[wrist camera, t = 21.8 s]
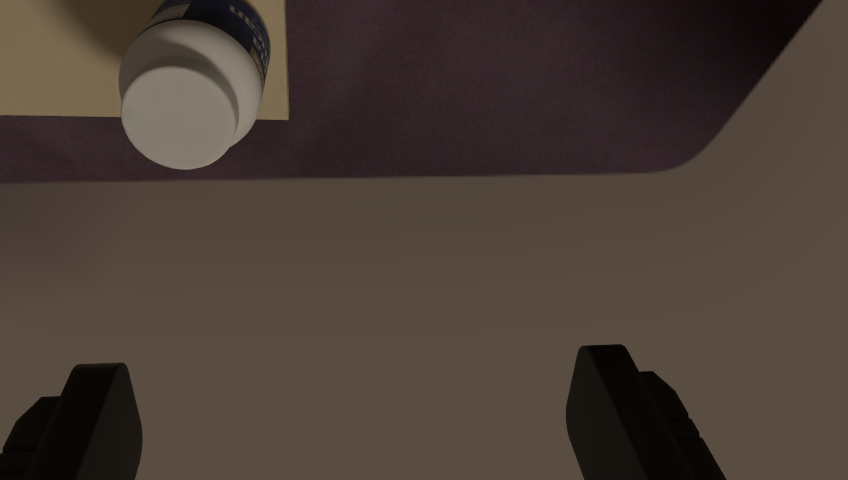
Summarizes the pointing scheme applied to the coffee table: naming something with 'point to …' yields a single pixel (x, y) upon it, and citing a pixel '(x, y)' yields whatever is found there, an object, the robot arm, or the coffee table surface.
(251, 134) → the coffee table surface
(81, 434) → the robot arm
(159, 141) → the pill bottle
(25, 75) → the button board
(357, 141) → the coffee table surface
